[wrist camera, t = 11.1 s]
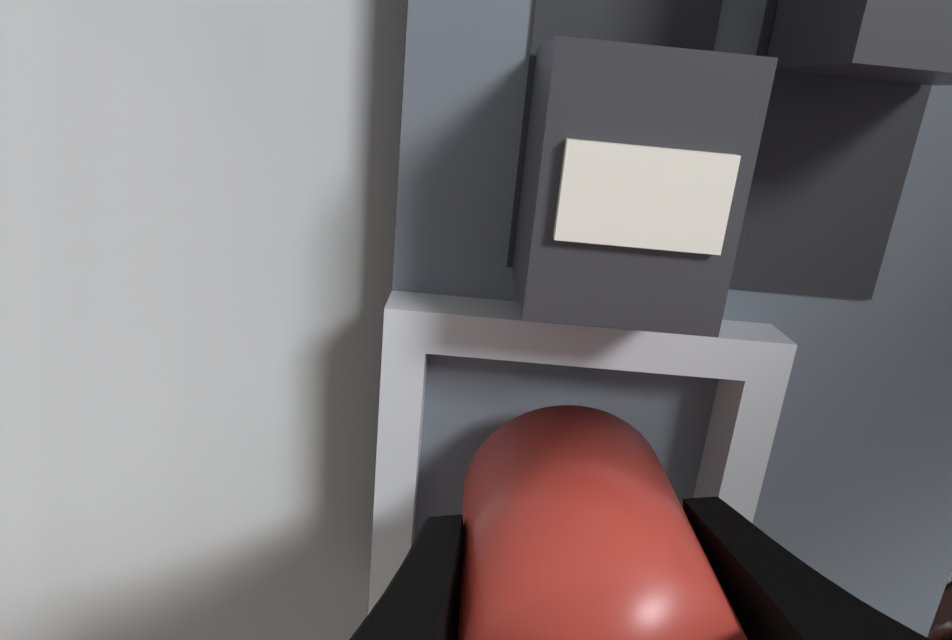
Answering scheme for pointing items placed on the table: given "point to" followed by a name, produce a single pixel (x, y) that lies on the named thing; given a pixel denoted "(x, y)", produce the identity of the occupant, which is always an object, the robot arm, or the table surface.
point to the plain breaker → (865, 39)
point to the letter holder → (943, 618)
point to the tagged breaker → (636, 183)
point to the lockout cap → (581, 538)
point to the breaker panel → (677, 355)
